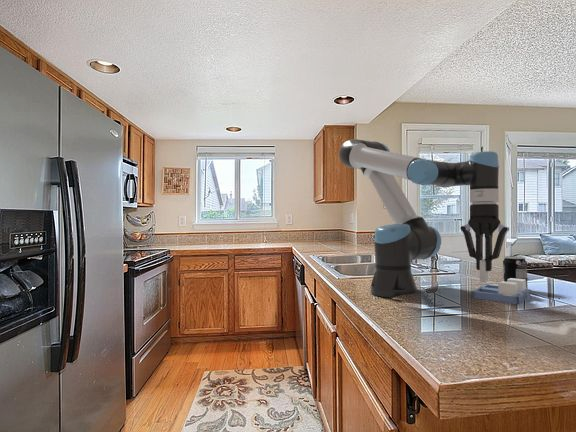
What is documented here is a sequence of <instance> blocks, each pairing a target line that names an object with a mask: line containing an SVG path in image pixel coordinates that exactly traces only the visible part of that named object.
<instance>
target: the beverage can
mask: <svg viewBox="0 0 576 432" xmlns="http://www.w3.org/2000/svg"><path fill="white" fill-rule="evenodd" d="M502 274H503V275H502V279H503V280H502V281H504V282H507V279H509V278H515V279H526V289H529V288H528V262H527V260H526V257H524V256H516V255H515V256H514V255H512V256H511V255H510V256H509V255H508V256H504V259H503V261H502Z"/></svg>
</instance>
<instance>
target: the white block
mask: <svg viewBox="0 0 576 432" xmlns="http://www.w3.org/2000/svg"><path fill="white" fill-rule="evenodd" d="M497 285H498V294H502V295H503V294H507V295H512V296H517V295H518V283H514V282H504V281H503V280H502V281H499V282H498V283H497Z"/></svg>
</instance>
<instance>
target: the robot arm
mask: <svg viewBox="0 0 576 432" xmlns="http://www.w3.org/2000/svg"><path fill="white" fill-rule="evenodd" d="M338 157H339V161H340V162H341V164H343V166H345V167H347V168H352V169H359V170H360V171H361V172H362V174H363V176H364V178H366V179H369V180H370V181H371V183H372V185H373V187H374V189H375V190H376V192H377V194H378V196H379V198H380V200H381V202H382V203H383V206H384V207H385V209H386V211H387V213H388V215H389V217H390V218H391V220H392V222H393V223H392V224H386V225H385V224H384V225H381V226H378V227H376V229H375V231H374V239H373V241H374V260H375V261H374V265H375V267H374V268H375V270H374V274H373V277H372V280H371V284H370V294H372V295H374V296H377V297H382V298H390V299H394V298H396V297H399V296H403V295H412V294H416V293H417V292H418V286H417V284H416V282H415V279H414V276H413V273H412V261H415V260H417V261H418V260H427V259H429V258H432V257H434V256H436V255H437V254H438V253H439V251H440V249H441V246H442V236H441V234H440V232H439V231H438V229H436V228H435V227H433V226H430V225H428V223H427V222H426V220H425V218H424V217H423V216H419V215H417V213H416V212H415V210H414V208H413V206H412V205H411V203H410V202H409V199H408V198H407V196H406V194H405V193H404V191H403V189H402V188H401V186H400V184H399V182H398V181H397V179H396V178H401V179H405V180H407V181H411V182H412V184H413V183H414V184H416V185H420V186H436V187H437V188H438V187H439V188H450V187H459V186H469V202H470V203H471V204H470V205H469V220H468V222H467V223H466V224H464V225H462V226H460V227H459V228H460V230H461V232H462V233H463V236H464V240H465V245H466V247H467V251H468V254H469V255H468V256H469V257H470V258H473V259H475V262H476V263H475V265H476V266H475V267H476V270H477V271H479V282H480V283H487V282H488V281H489V272H491V271H492V269H493V268H492V267H493V265H492V261H493V260H495V259H496V260H497V259H498V258H500V255H501V251H502V246H503V243H504V240H505V237H506V235H507V233H508V232H509V231H510V227H508V226H505V225H503V224H502V223H501V221H500V218H499V216H500V215H499V211H500V210H499V205H498V204H497V203H499V200H500V199H499V195H500V194H499V171H500V170H499V169H500V165H499V155H498V153H497V152H495V151H490V150H489V151H487V150H485V151H478V152H473V153H471V154H470V155H469V159H468V160H467V161H466V160H465V161H461V162H445V161H439V160H438V161H437V160H432V159H426V158H422V157H416V156H412V155H407V154H402V153H398V152H394V151H393V152H392V151H391V150H390V149H389V147H388V146H387V145H385V144H384V143H381V142H378V141H371V140H363V139H356V138H355V139H354V138H353V139H349V140H346V141H345V142H343V143H342V145H341V146H340V148H339V151H338ZM471 230H472V231H473V233H474V235H475V244H474V240H473V237H472V233H471ZM495 231H498V232H499V233H498V235H497V238H496V241H495V245H494V248H493V235H494V233H495ZM483 242H485V243H483ZM484 248H485V249H484ZM483 250H485V251H483ZM483 253H484V254H483ZM483 255H484V256H483Z"/></svg>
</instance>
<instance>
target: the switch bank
mask: <svg viewBox="0 0 576 432" xmlns="http://www.w3.org/2000/svg"><path fill="white" fill-rule="evenodd" d="M530 297H531V288H530V289H529V288H528V289H526V290H525V291H523V292H519V291H518V295H517V296H512V295H507V294H503V295H502V294H498V284H493V283H492V284H487V283H485V284H484V285H482V286H479V287H478V288H476V289H473V290H471V299H478V300H486V301H493V302H500V303H507V304H514V305H521V303H523V302H524V301H526V300H527V299H528V298H530Z"/></svg>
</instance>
